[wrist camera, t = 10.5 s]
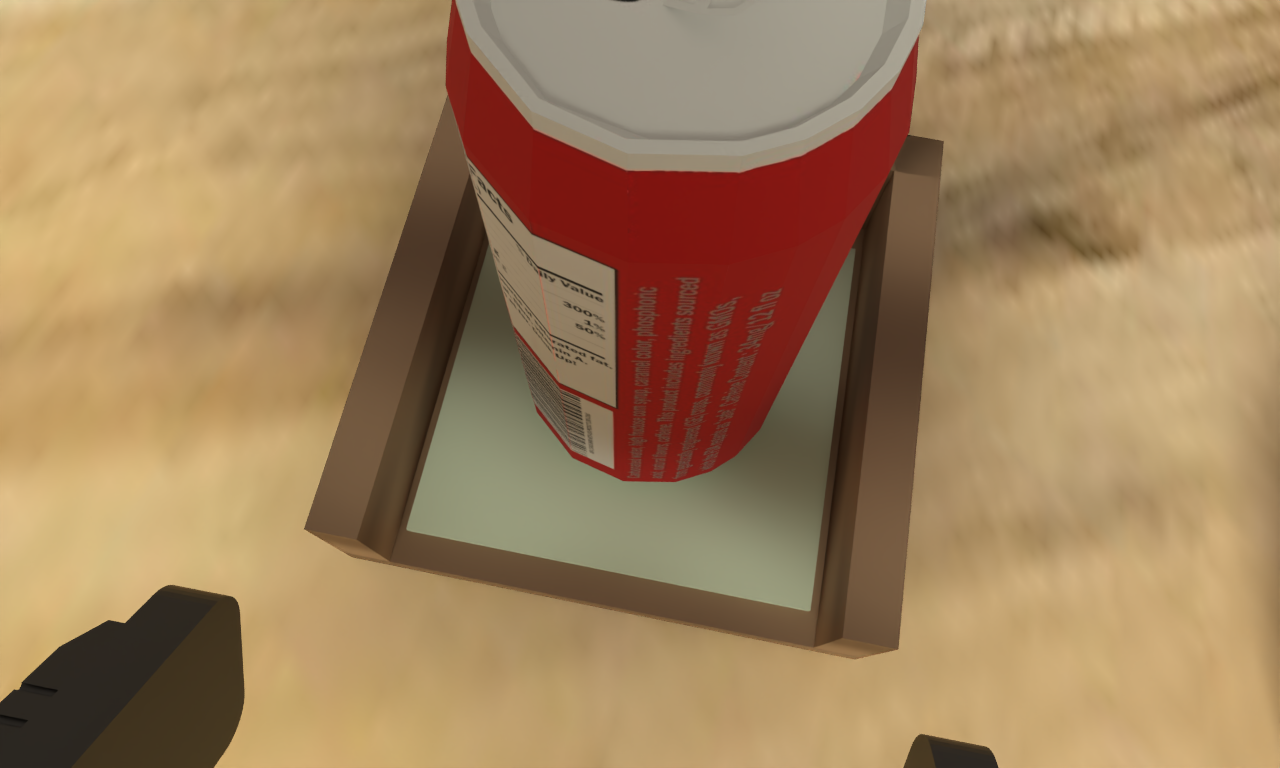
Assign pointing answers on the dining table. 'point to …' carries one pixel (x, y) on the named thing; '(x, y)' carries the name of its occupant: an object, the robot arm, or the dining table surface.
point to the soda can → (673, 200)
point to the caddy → (642, 511)
